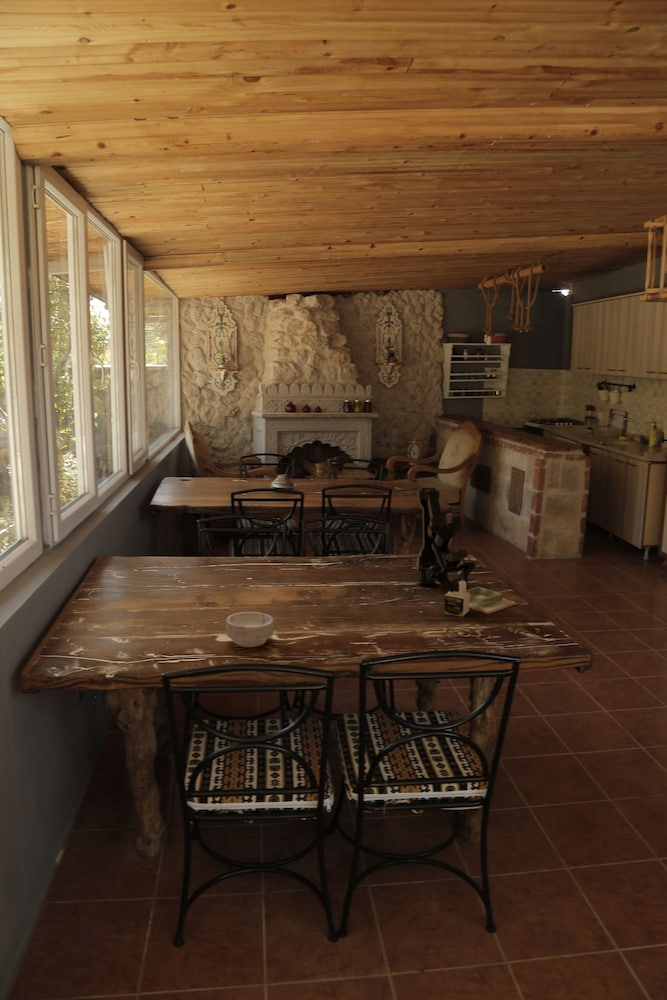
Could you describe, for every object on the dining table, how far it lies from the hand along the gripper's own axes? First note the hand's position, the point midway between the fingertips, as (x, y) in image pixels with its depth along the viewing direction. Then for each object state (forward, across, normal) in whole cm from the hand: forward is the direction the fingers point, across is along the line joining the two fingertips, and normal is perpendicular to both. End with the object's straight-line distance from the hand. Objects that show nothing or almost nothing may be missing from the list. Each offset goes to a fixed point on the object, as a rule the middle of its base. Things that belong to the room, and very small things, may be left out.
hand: (459, 590), depth 272 cm
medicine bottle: (+5, 0, +7) cm, 9 cm away
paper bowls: (+3, -77, +10) cm, 78 cm away
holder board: (+1, +15, +11) cm, 19 cm away
